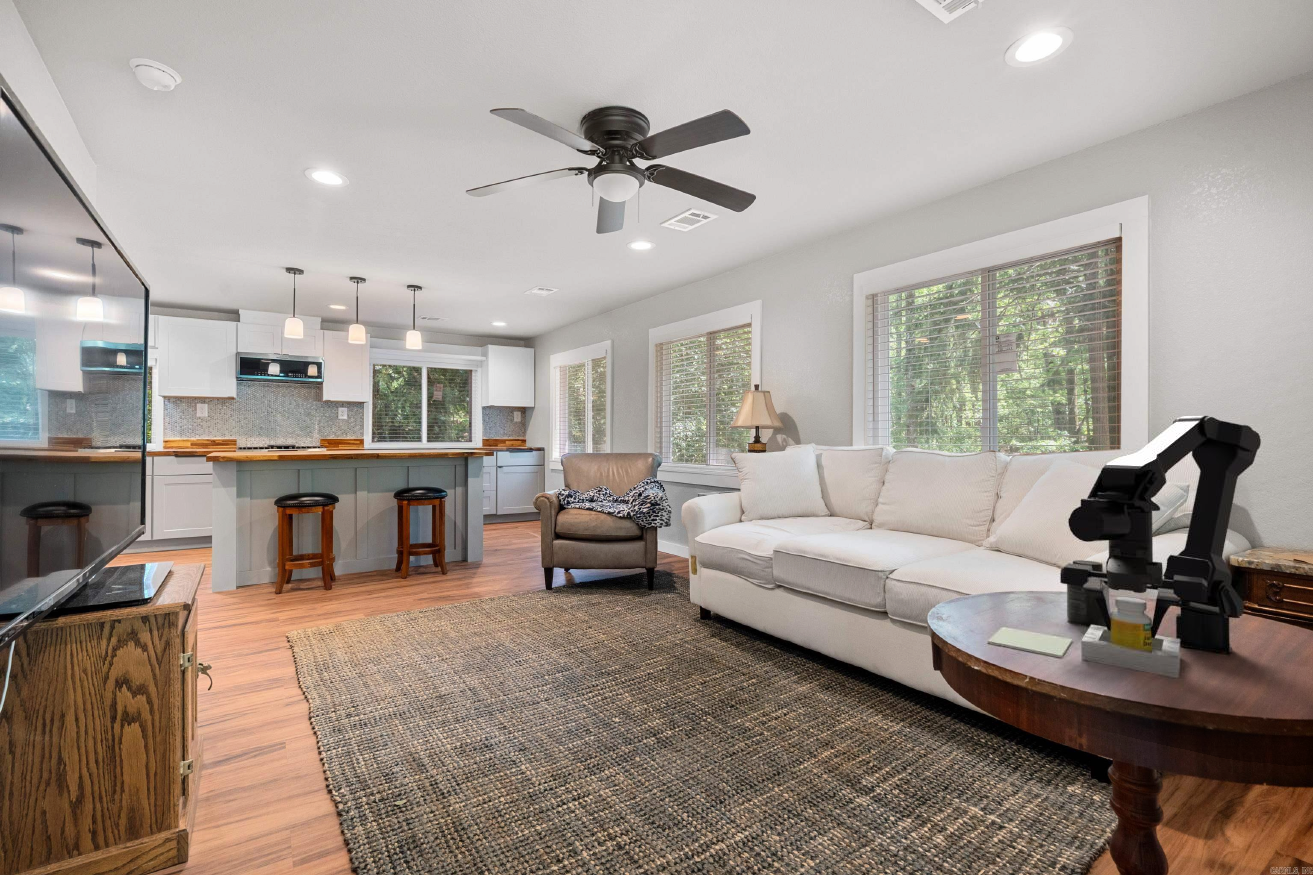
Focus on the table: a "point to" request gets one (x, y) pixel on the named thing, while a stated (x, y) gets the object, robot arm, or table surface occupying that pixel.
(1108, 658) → the grey square frame
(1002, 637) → the sage pad
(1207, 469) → the robot arm
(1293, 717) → the table surface
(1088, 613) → the supplement bottle
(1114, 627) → the supplement bottle
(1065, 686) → the table surface
